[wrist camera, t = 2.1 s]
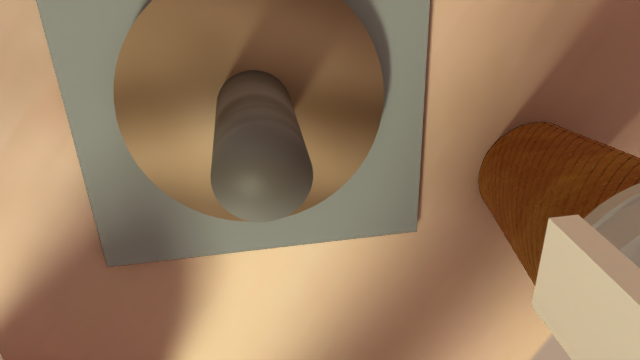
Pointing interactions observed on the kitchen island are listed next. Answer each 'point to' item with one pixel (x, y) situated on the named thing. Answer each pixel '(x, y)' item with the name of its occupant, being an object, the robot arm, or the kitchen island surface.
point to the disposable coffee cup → (560, 189)
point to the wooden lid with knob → (248, 102)
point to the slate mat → (207, 231)
